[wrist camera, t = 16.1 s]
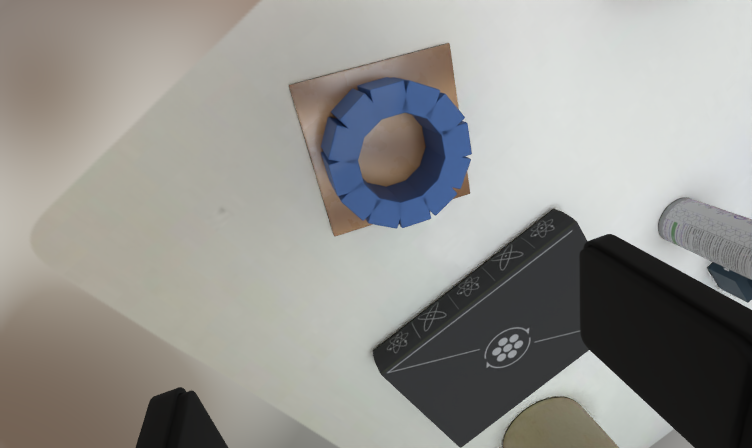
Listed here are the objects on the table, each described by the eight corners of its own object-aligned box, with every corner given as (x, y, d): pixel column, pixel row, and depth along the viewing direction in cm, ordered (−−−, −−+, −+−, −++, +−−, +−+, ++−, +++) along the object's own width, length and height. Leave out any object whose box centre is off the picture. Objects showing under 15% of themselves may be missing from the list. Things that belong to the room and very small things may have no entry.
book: (553, 205, 38) (575, 217, 36) (607, 303, 45) (629, 319, 42) (369, 350, 40) (377, 371, 37) (448, 425, 46) (460, 448, 43)
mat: (288, 84, 29) (288, 85, 29) (447, 43, 31) (449, 43, 30) (333, 234, 34) (334, 236, 34) (468, 192, 36) (470, 193, 35)
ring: (304, 99, 29) (310, 106, 26) (436, 62, 31) (459, 64, 27) (342, 224, 34) (352, 245, 30) (456, 187, 35) (479, 202, 31)
